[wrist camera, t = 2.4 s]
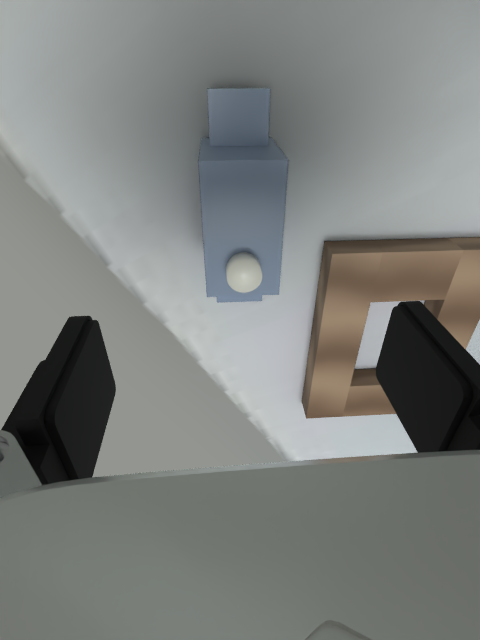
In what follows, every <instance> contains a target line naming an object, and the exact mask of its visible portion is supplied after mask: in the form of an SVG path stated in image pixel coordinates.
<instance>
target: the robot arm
mask: <svg viewBox="0 0 480 640" xmlns="http://www.w3.org/2000/svg"><path fill="white" fill-rule="evenodd" d="M376 377H377V380H378V382H379V383H380V385H381V387H382V389H383V391H384V392H385V394H386V396H387V398H388V399H389V401H390V403H391V405H392V407H393V408H394V410H395V412H396V414H397V416H398V417H399V419H400V421H401V423H402V425H403V426H404V428H405V430H406V432H407V434H408V435H409V437H410V439H411V441H412V443H413V444H414V446H415V448H416V450H417V452H418V453H407V454H392V455H377V456H362V457H347V458H332V459H318V460H304V461H290V462H277V463H264V464H249V465H236V466H223V467H210V468H198V469H184V470H171V471H158V472H146V473H135V474H124V475H114V476H103V477H92V476H93V472H94V468H95V465H96V461H97V458H98V454H99V451H100V447H101V443H102V440H103V436H104V432H105V429H106V425H107V422H108V418H109V415H110V411H111V408H112V404H113V400H114V396H115V391H116V387H115V381H114V378H113V374H112V370H111V367H110V363H109V359H108V356H107V352H106V349H105V345H104V341H103V337H102V333H101V330H100V326H99V323H98V321H97V320H92V318H91V317H90V316H74V317H69V318H68V320H67V322H66V323H65V325H64V327H63V329H62V331H61V333H60V334H59V336H58V338H57V340H56V341H55V343H54V345H53V347H52V349H51V351H50V352H49V354H48V356H47V358H46V360H44V361H41V362H40V363H39V365H38V366H37V368H36V370H35V371H34V373H33V375H32V377H31V378H30V380H29V382H28V384H27V386H26V387H25V389H24V391H23V392H22V394H21V396H20V398H19V400H18V401H17V403H16V405H15V407H14V408H13V410H12V412H11V414H10V415H9V417H8V419H7V421H6V422H5V424H4V426H3V428H2V429H1V430H0V640H480V365H479V364H478V362H477V361H476V360H475V359H474V358H473V357H472V356H471V355H470V354H469V353H468V352H467V351H466V350H465V349H464V347H463V346H462V345H461V344H460V343H459V342H458V341H457V340H456V339H455V338H454V337H453V336H452V335H451V333H450V332H449V331H448V330H447V329H446V328H445V327H444V326H443V325H442V324H441V323H440V322H439V321H438V320H437V318H436V317H435V316H434V315H433V314H432V313H431V312H430V311H429V310H428V309H427V308H426V307H425V306H424V305H423V303H421V302H420V301H407V302H400V303H399V304H398V306H396V307H394V308H393V310H392V313H391V317H390V320H389V324H388V327H387V331H386V334H385V338H384V342H383V345H382V349H381V352H380V356H379V360H378V363H377V367H376Z"/></svg>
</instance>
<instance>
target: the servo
mask: <svg viewBox="0 0 480 640" xmlns="http://www.w3.org/2000/svg"><path fill="white" fill-rule="evenodd" d="M207 93H208V115H209V137H210V138H201V144H200V152H199V159H198V166H199V182H200V197H201V213H202V229H203V244H204V260H205V276H206V292H207V297H217V302H245V301H262V295H278V294H279V287H280V273H281V259H282V245H283V231H284V217H285V203H286V189H287V175H288V161H289V160H288V158H287V157H286V156H285V155H284V153H283V152H282V151H281V149H280V148H279V147H278V145H277V144H276V143H275V142H274V140H273V139H272V138H271V137H268V134H269V109H270V88H207Z"/></svg>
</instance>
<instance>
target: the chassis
mask: <svg viewBox="0 0 480 640" xmlns="http://www.w3.org/2000/svg"><path fill="white" fill-rule="evenodd" d="M418 300H426V301H425V304H424V306H425V307H426V308H427V309H428V310H429V311H430V312H431V313H432V314H433V315H434V316H435V317H436V318H437V320H438V321H439V322H440V323H441V324H442V325H443V326H444V327H445V328H446V329H447V330H448V331H449V332H450V333H451V335H452V336H453V337H454V338H455V339H456V340H457V341H458V342H459V343H460V344H461V345H462V346H463V347H464V349H466V347H467V345H468V343H469V341H470V339H471V336H472V334H473V332H474V330H475V328H476V326H477V323H478V321H479V319H480V237H468V238H431V239H394V240H357V241H324V248H323V255H322V262H321V270H320V277H319V284H318V291H317V298H316V305H315V312H314V319H313V326H312V333H311V340H310V347H309V354H308V361H307V368H306V375H305V382H304V389H303V397H302V404H303V408H304V411H305V415H306V418H322V417H342V416H361V415H381V414H396V412H395V410H394V408H393V407H392V405H391V403H390V401H389V399H388V398H387V396H386V394H385V392H384V391H383V389H382V387H381V385H380V383H379V382H378V380H377V377H376V369H356V370H354V368H355V364H356V360H357V356H358V351H359V347H360V343H361V339H362V335H363V331H364V327H365V323H366V319H367V315H368V311H369V307H370V303H371V302H390V301H418Z"/></svg>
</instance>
